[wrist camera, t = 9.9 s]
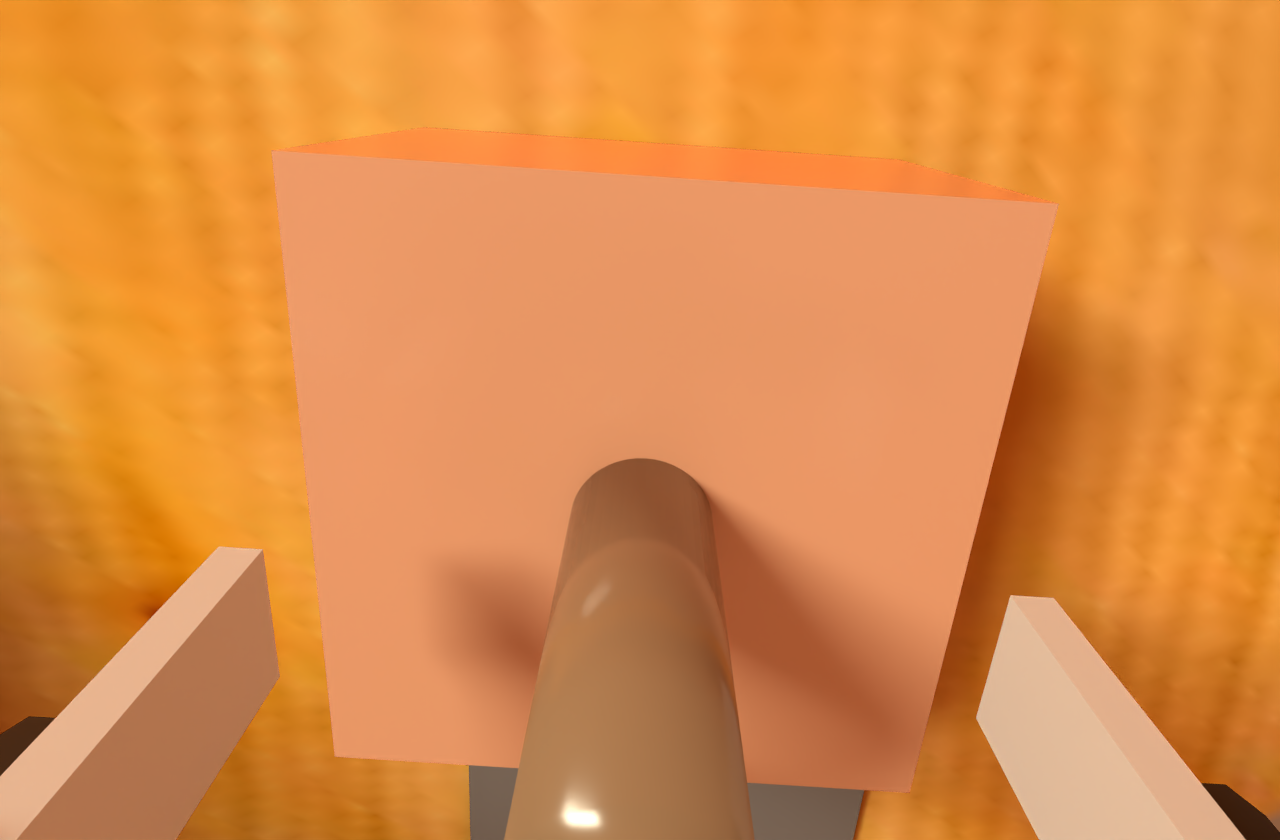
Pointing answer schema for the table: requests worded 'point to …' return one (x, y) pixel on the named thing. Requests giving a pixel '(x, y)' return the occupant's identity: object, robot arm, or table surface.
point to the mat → (781, 814)
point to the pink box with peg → (644, 458)
